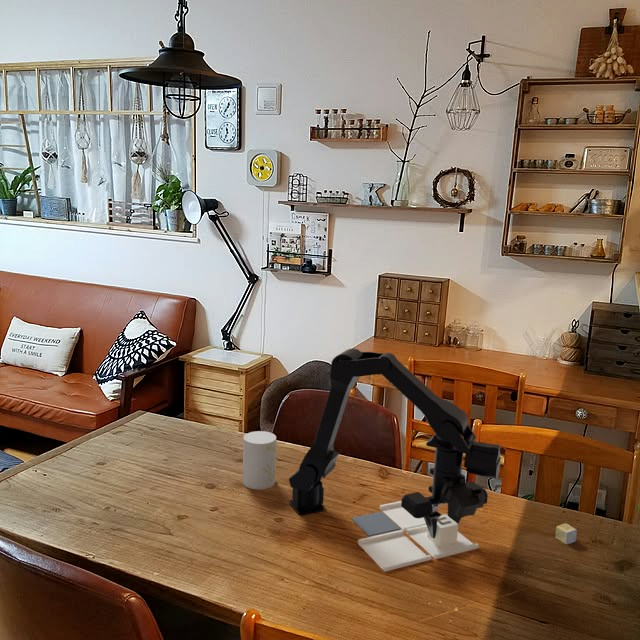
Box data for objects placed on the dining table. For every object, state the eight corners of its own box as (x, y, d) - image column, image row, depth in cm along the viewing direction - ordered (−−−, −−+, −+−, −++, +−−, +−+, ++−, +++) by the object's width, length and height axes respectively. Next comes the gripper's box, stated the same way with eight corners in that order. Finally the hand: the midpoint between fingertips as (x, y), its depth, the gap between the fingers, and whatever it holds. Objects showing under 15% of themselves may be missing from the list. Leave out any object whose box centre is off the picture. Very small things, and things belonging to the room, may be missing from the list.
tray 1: (405, 532, 141) (405, 528, 141) (379, 509, 151) (379, 505, 151) (445, 522, 146) (446, 518, 146) (418, 501, 156) (418, 497, 156)
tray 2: (384, 572, 126) (384, 567, 126) (357, 543, 136) (357, 539, 136) (430, 560, 131) (431, 556, 131) (401, 533, 141) (402, 529, 141)
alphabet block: (565, 545, 139) (567, 532, 138) (554, 538, 142) (556, 525, 141) (575, 542, 140) (577, 529, 140) (564, 535, 143) (566, 522, 143)
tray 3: (435, 559, 131) (435, 555, 131) (406, 533, 141) (406, 529, 141) (478, 548, 136) (478, 544, 136) (447, 523, 146) (447, 519, 146)
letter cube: (439, 547, 136) (440, 527, 135) (426, 536, 140) (428, 517, 139) (456, 543, 138) (458, 523, 137) (443, 532, 141) (445, 513, 141)
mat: (368, 537, 139) (368, 535, 139) (351, 519, 146) (351, 517, 146) (399, 529, 142) (400, 528, 142) (381, 513, 149) (381, 511, 149)
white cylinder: (270, 491, 158) (271, 445, 155) (238, 487, 159) (239, 441, 157) (278, 477, 165) (279, 433, 163) (248, 473, 167) (249, 429, 165)
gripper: (433, 492, 124) (427, 564, 127) (508, 477, 132) (501, 545, 135) (402, 468, 134) (397, 536, 137) (474, 455, 142) (467, 520, 145)
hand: (442, 535), depth 138 cm, fingers closed on letter cube, 4 cm apart
